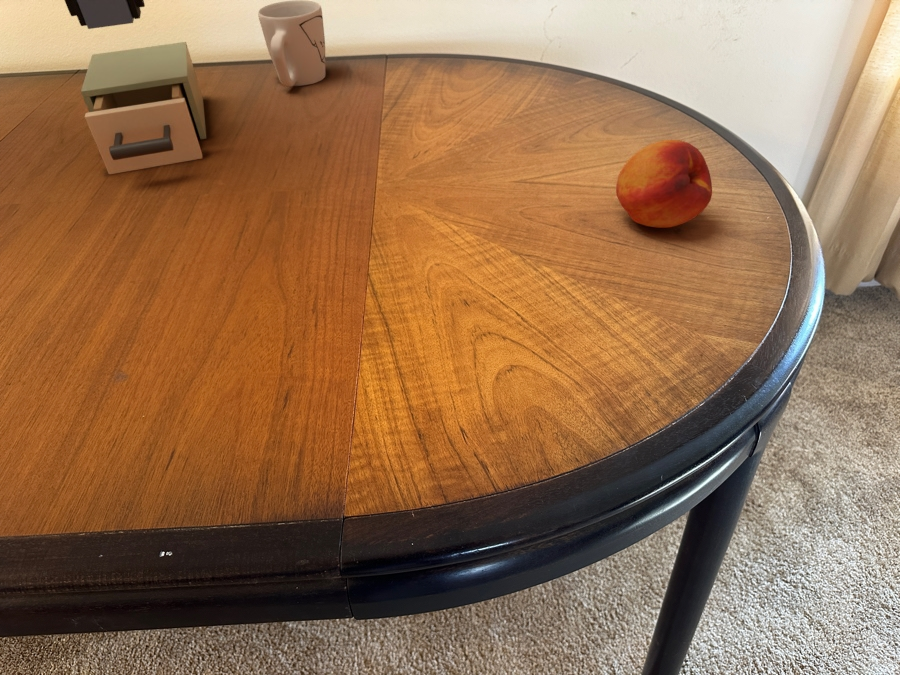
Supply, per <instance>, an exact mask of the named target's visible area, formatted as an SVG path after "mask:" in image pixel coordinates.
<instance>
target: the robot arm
mask: <svg viewBox="0 0 900 675" xmlns="http://www.w3.org/2000/svg"><path fill="white" fill-rule="evenodd" d="M64 2H65V5H66V8H67V10H68V13H69V15H70V16H71V17H77V20H78V22H79V25H80V27H87V25H86V22H85V19H84V17H83V14H82V12H81V9H80V7H79V4H78V2H77V0H64ZM127 3H128V6H129V9H130V12H131V15H132V17H133V18H134V20H138V19H140V18H141V14H142V11H141V8H144V7H145V5H146V4H145V0H127Z"/></svg>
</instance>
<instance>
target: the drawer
mask: <svg viewBox="0 0 900 675" xmlns="http://www.w3.org/2000/svg"><path fill="white" fill-rule="evenodd" d="M93 110H94V112H89V111H88V112H85V115H84V120H85V122H86V124H87V126H88V128H89V131H90V133H91V135H92V138H93V141H94V142H95V145H96V148H97V149H98V152H99V154H100V156H101V160H102V161H103V164H104V166H105V169H106V171H107V173H108V175H114V174H119V173H127V172H131V171H137V170H142V169H143V170H145V169H150V168H154V167H155V168H156V167H161V166H167V165H172V164H178V163H183V162H184V163H185V162H188V161H195V160H201V159H203V153H202V152H203V151H202V149H201V146H200V142H199V140H198V137H197V132H196V124H195V120H194V117H193V114H192V111H191V108H190V104H189V101H188V98H187V95H186V92H185V88H184V85H183V83H177V84H171V85H164V86H157V87H150V88H144V89H137V90H130V91H124V92H117V93H110V94H103V95H97V96H96V100H95V104H94V108H93Z"/></svg>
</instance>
